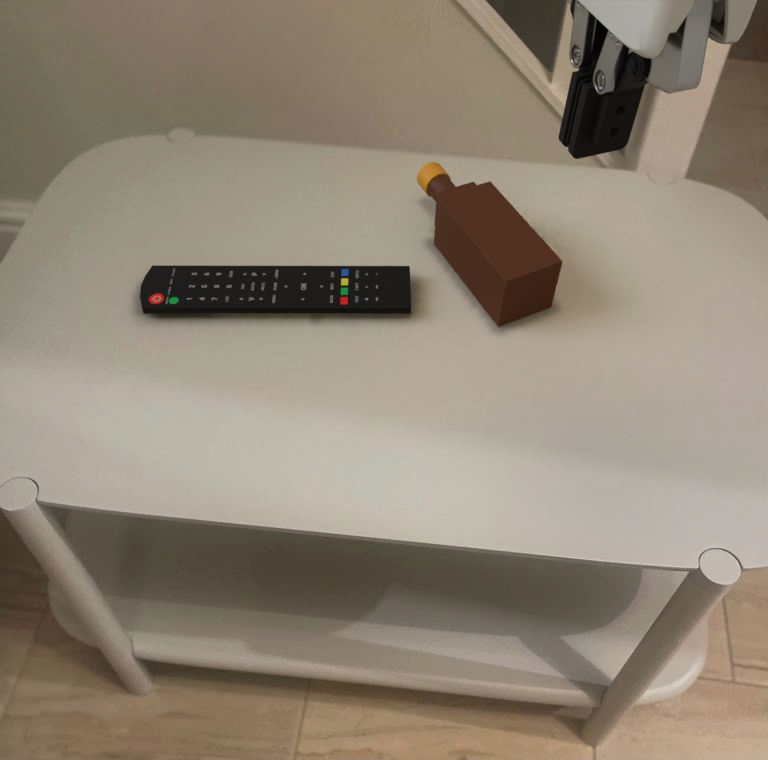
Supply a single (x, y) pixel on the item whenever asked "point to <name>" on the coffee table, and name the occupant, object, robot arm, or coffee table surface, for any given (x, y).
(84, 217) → the coffee table surface
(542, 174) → the coffee table surface
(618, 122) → the robot arm
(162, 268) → the remote control
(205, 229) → the coffee table surface
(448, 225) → the bottle
